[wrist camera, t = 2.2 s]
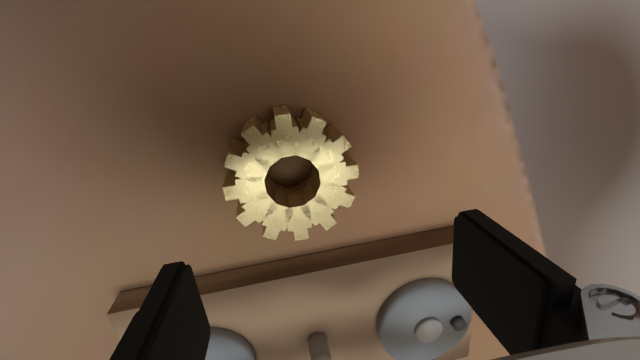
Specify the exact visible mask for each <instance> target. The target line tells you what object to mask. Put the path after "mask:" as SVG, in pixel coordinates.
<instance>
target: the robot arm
mask: <svg viewBox="0 0 640 360" xmlns="http://www.w3.org/2000/svg"><path fill="white" fill-rule="evenodd" d="M452 282H453V285H454V287H455V288H456V289H457V290H458V292H459V293H460V294H461V295H462V297H463V298H464V299H465V300H466V301H467V303H468V304H469V305H470V306H471V307H472V309H473V310H474V311H475V312H476V314H477V315H478V316H479V317H480V318H481V320H482V321H483V322H484V323H485V325H486V326H487V327H488V328H489V329H490V331H491V332H492V333H493V334H494V335H495V337H496V338H497V339H498V340H499V342H500V343H501V344H502V345H503V346H504V348H505V349H506V350H507V351H508V353H509V354H510V355H509V356H505V357H500V358H496V359H491V360H640V297H639V296H638V295H636V294H634V293H632V292H630V291H627V290H625V289H622V288H619V287H615V286H612V285H605V284H591V285H588V286H585V287H584V288H583V289H580V288H579V287H577V286H576V285H575V283H576V278H574V277H573V276H571V275H570V274H569V273H567V272H566V271H564V270H563V269H562V268H560V267H559V266H557V265H556V264H554V263H553V262H552V261H550V260H549V259H547V258H546V257H545V256H543V255H542V254H540V253H539V252H537V251H536V250H535V249H533V248H532V247H530V246H529V245H527V244H526V243H525V242H523V241H522V240H520V239H519V238H518V237H516V236H515V235H513V234H512V233H510V232H509V231H508V230H506V229H505V228H503V227H502V226H500V225H499V224H498V223H496V222H495V221H493V220H492V219H491V218H489V217H488V216H486V215H485V214H483V213H482V212H481V211H479V210H477V209H473V210H468V211H462V212H460V213H459V214H458V216H457V217H455V219H454V235H453V256H452ZM210 333H211V332H210V324H209V321H208V318H207V315H206V312H205V309H204V306H203V302H202V299H201V296H200V293H199V290H198V287H197V284H196V281H195V277H194V274H193V271H192V268H191V266H190V265H185V263H184V262H182V261H181V262H175V263H170V264H165V265H163V267H162V268H161V270H160V272H159V274H158V276H157V277H156V279H155V281H154V283H153V285H152V287H151V289H150V290H149V292H148V294H147V296H146V298H145V300H144V301H143V303H142V305H141V307H140V309H139V311H138V312H136V314H135V315H134V316H133V318H132V320H131V322H130V324H129V325H128V327H127V329H126V331H125V333H124V334H123V336H122V338H121V340H120V342H119V344H118V345H117V347H116V349H115V351H114V353H113V354H112V356H111V358H110V360H205V358H206V353H207V349H208V344H209V340H210Z"/></svg>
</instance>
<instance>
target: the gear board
mask: <svg viewBox="0 0 640 360" xmlns="http://www.w3.org/2000/svg"><path fill="white" fill-rule="evenodd" d="M453 235H454V226H451V227H446V228H441V229H436V230H431V231H426V232H421V233H416V234H411V235H406V236H401V237H395V238H390V239H385V240H380V241H375V242H370V243H365V244H360V245H355V246H350V247H345V248H340V249H335V250H330V251H325V252H320V253H315V254H310V255H305V256H299V257H294V258H289V259H284V260H279V261H274V262H269V263H264V264H259V265H254V266H249V267H244V268H239V269H234V270H229V271H224V272H219V273H214V274H209V275H204V276H198V277H195V281H196V284H197V287H198V290H199V293H200V296H201V299H202V302H203V306H204V309H205V312H206V315H207V318H208V321H209V324H210V332H211V333H210V340H209V344H208V349H207V353H206V358H205V360H455V359H459V358H463V357H467V356H468V353H469V343H470V334H471V324H472V315H473V309H472V307H471V306H470V305H469V304H468V303H467V301H466V300H465V299H464V298H463V297H462V295H461V294H460V293H459V292H458V290H457V289H456V288H455V287H454V285H453V282H452V256H453ZM151 287H152V286H148V287H143V288H138V289H133V290H128V291H123V292H120V293H119V295H118V296H117V298H116V300H115V301H114V303H113V305H112V306H111V308H110V310H109V311H108V313H107V316H108V318H109V320H110V322H111V324H112V326H113V328H114V330H115V332H116V334H117V336H118V338H119V340H121V338H122V336H123V334H124V333H125V331H126V329H127V327H128V325H129V324H130V322H131V320H132V318H133V316H134V315H135V314H136V312H138V311H139V309H140V307H141V305H142V303H143V301H144V300H145V298H146V296H147V294H148V292H149V290H150V289H151Z"/></svg>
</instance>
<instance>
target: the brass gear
mask: <svg viewBox="0 0 640 360" xmlns="http://www.w3.org/2000/svg"><path fill="white" fill-rule="evenodd" d="M273 113H274V119H270V125H269V123H268V122H267V121H266V122H264V123H263V124H262V123H261V122H260V121H259V119H258V118H257V117H256V116H255V115H254V116H252V117H251V118H250V119H249V120H247V121H246V122H245V123H244V125H243V129H242V133H241V136H242V137H243V138H244V139H245V143H244V142H242V141H239V140H236V139H233V140H232V143H231V146H230V149H229V152H228V155H227V158H226V160H225V163H224V166H223V167H225V168H228V170H227V174H226V177H225V180H224V184H223V187H222V188H223V192H224V196H225V200H226V201H228V200H234V199H239V201H238V207H237V214H236V218H237V219H238V220H239V221H240V222H241V223H242V224H243V225H244V226H245V227H247V226H248V225H249V224H251V223H252V222H253V221H254V220H256V221H257V222H258V223H260V222H261V221H262V225H263V237H266V238H269V239H273V240H276V239H277V236H278V234H279V232H280V230H281V231H284V232H285V231H286V228H287V226H288V232H290V231H294V236H295V241H298V240H303V239H308V238H309V237H308V230H307V228H311V227H312V223H313V224H314V225H315V226H316V225H317V224H319V223H320V224H321V225H322V226H323V227H324V229H325V230H326V231H327V230H328V229H329V228H331V227H332V226H333V225H335V224H336V223H337V221H336V219H335V217H334V215H333V212H334V210H333V208H334V209H337V207H338V205H341V206H344V207H347V208H350V206H351V204H352V202H353V200H354V198H355V195H354V194H353V192H352V191H351V189H350V188H349V186H348V185H347V180H350V179H356V178H359V171H358V164H357V163H356V162H355V161H354V160H353V158H352V157H351V156H350V155H349V154H348V153H347V152H346V150H347V149H349V148H350V147H351V145H350V144H349V142H348V141H347V140H346V138H345V137H344V135H343V134H342V133H341V132H340V131H339V130H337V129H336V128H335V127H334V126H333V125H332V124H331V125H329V126H328V127H327V128H326V129H324V127H325V125H326V123H327V122H326V121H325V120H324V119H323V118H322V117H321V116H320V115H319V114H318V113H317V112H315V111H312V110H310V109H308V108H305V109H304V112H303V114H302V117H301V118H298V117H296V118H295V119H294V118H293V116H291V115H290V112H289V110H288V108H287V106H286V105H283V106H276V107H273ZM295 155H297V156H300V157H303V158H305V159H308V160H310V161H311V162H312V165H313V167H312V170H311V172H310V174H309V177H308V178H307V179H306V180H305V181H303V182H302V183H301V184H299V185H297V186H292V187H283V186H280V185H277V184H274V183H273V182H272V181H271V179H270V178H269V177H268V176H267V175H266V174H267V172H268V169H269V167H270V166H271V165H273V164H274V163H275V162H276V161H278V160H279V159H280V158H283V157H289V156H295Z"/></svg>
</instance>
